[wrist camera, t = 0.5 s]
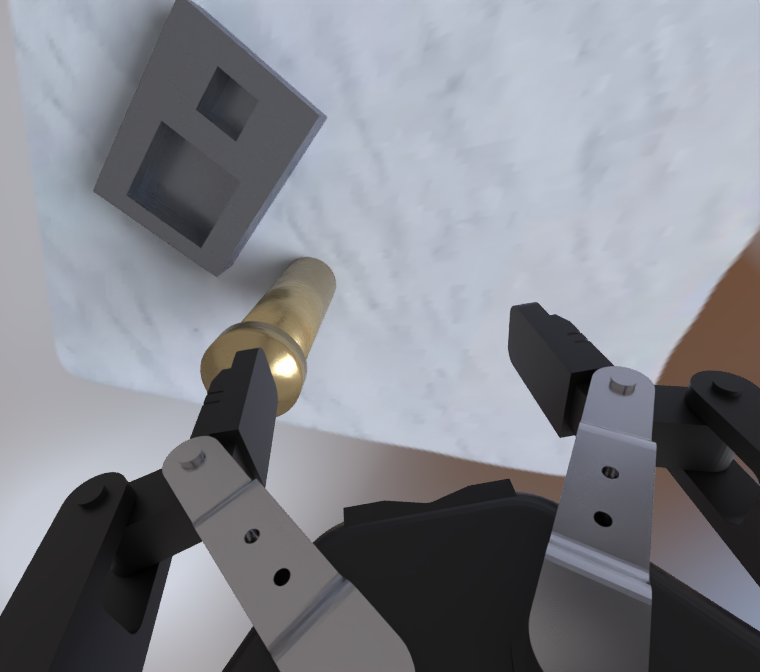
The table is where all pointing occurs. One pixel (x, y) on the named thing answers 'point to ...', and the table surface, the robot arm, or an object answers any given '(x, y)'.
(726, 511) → the robot arm
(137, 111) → the plate
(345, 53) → the table surface
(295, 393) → the brass headed pin
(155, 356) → the table surface
